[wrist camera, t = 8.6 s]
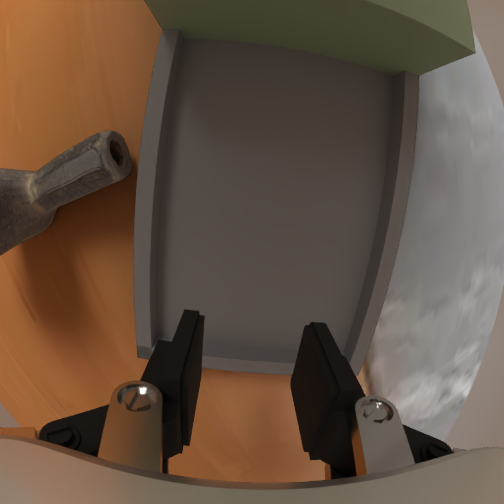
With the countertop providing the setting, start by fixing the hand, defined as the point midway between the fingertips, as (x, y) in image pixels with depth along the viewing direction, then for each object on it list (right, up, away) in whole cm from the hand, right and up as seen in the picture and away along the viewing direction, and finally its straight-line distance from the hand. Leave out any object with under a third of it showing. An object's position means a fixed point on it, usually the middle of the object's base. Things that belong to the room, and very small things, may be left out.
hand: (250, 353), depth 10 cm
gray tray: (+2, +10, +6) cm, 12 cm away
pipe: (-13, +8, +6) cm, 17 cm away
